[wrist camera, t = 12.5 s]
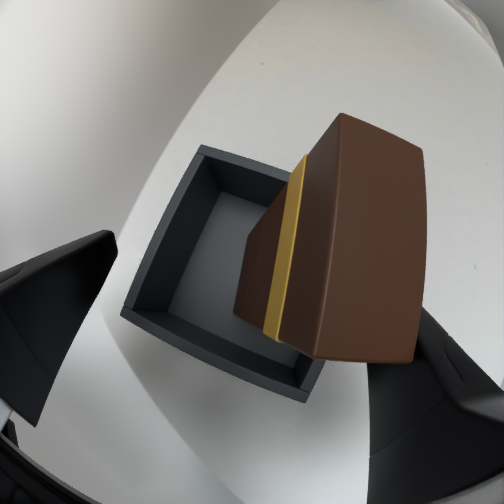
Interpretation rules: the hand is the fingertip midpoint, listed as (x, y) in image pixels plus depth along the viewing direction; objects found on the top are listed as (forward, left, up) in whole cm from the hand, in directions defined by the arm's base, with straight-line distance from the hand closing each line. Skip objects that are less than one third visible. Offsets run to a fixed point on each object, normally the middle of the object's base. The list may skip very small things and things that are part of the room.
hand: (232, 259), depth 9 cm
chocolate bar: (0, 0, -9) cm, 9 cm away
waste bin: (0, 0, -10) cm, 10 cm away
